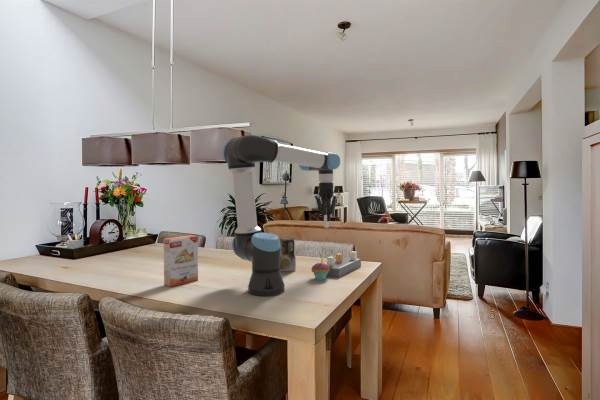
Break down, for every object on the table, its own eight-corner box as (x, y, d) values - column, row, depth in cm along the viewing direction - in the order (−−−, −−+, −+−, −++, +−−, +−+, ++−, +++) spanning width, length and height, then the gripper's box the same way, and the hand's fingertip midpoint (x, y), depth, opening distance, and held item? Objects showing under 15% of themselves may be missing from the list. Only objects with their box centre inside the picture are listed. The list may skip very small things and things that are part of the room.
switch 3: (354, 260, 182) (354, 252, 182) (350, 259, 183) (350, 252, 183) (356, 259, 185) (356, 251, 184) (352, 258, 186) (352, 251, 186)
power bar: (339, 277, 164) (339, 268, 164) (322, 274, 169) (322, 266, 169) (361, 266, 186) (361, 258, 186) (345, 264, 191) (345, 256, 191)
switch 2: (339, 262, 177) (339, 254, 177) (335, 262, 178) (335, 254, 178) (342, 261, 179) (342, 253, 179) (338, 260, 181) (338, 253, 180)
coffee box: (296, 268, 182) (295, 237, 182) (294, 271, 176) (294, 239, 175) (279, 268, 183) (278, 237, 183) (276, 271, 177) (276, 239, 176)
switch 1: (331, 266, 169) (331, 258, 169) (327, 265, 171) (327, 257, 170) (334, 264, 172) (334, 256, 171) (330, 264, 173) (329, 256, 173)
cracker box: (170, 287, 150) (169, 239, 149) (163, 285, 154) (162, 238, 153) (199, 280, 161) (198, 235, 160) (191, 278, 165) (190, 234, 164)
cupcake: (317, 275, 169) (316, 250, 168) (332, 277, 164) (332, 252, 164) (308, 279, 161) (308, 253, 161) (324, 282, 157) (324, 255, 157)
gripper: (340, 181, 180) (341, 227, 182) (318, 182, 188) (319, 225, 189) (333, 182, 174) (334, 229, 175) (311, 182, 181) (312, 227, 183)
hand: (326, 227), depth 182 cm, fingers closed
